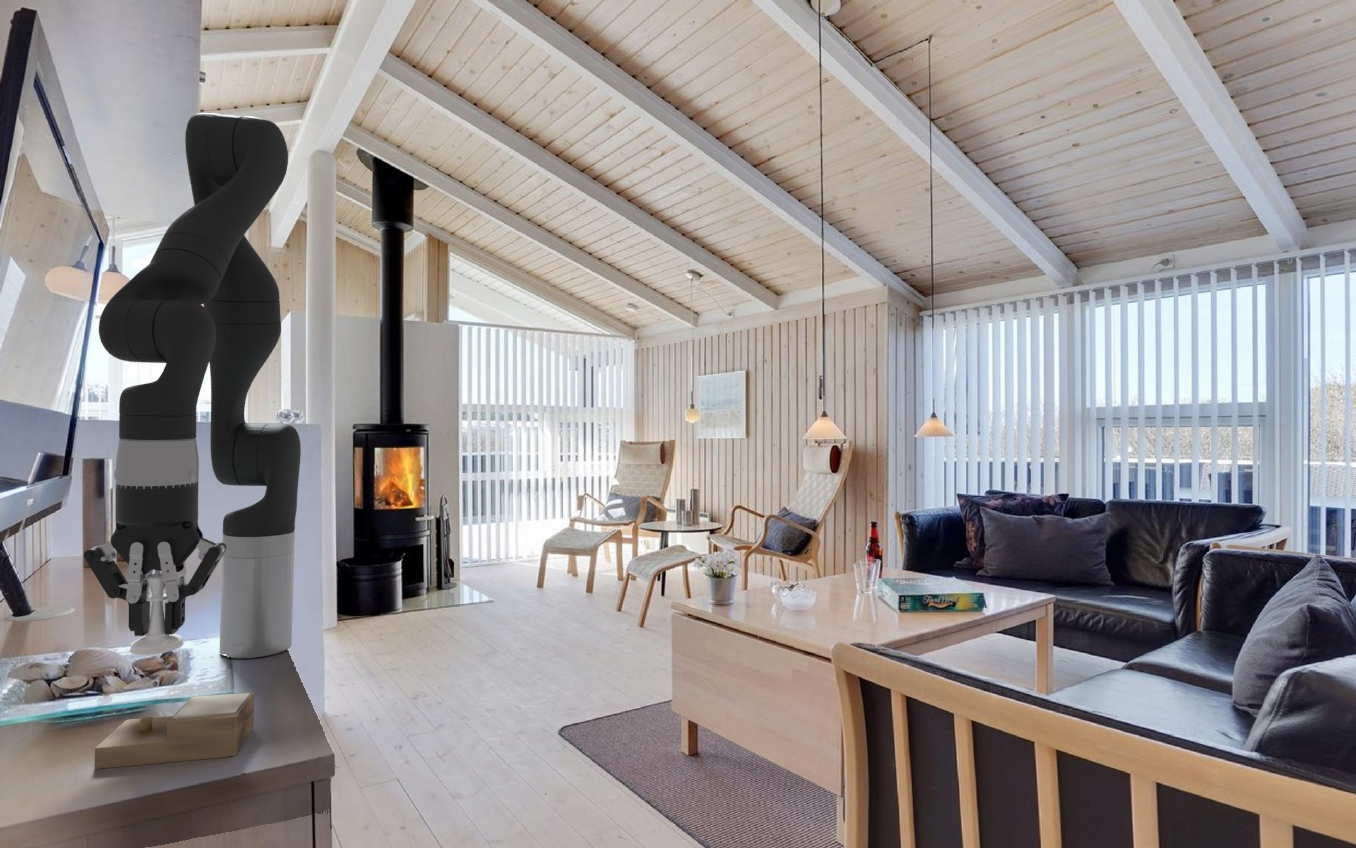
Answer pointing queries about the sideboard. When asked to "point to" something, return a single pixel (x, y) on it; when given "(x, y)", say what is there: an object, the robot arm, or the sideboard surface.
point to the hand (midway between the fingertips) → (156, 632)
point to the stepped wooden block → (182, 733)
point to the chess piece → (156, 623)
